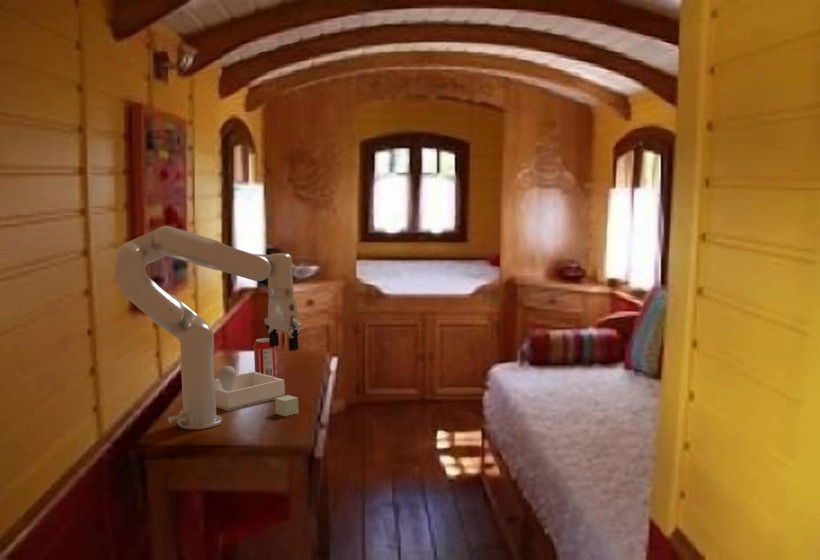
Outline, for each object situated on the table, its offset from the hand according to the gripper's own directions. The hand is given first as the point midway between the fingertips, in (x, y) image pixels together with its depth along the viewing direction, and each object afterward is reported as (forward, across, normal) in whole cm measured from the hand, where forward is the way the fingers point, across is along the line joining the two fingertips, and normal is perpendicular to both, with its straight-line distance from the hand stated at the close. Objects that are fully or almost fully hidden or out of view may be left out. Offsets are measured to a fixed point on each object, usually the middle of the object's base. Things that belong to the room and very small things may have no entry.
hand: (283, 348), depth 244 cm
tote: (+20, +24, 0) cm, 32 cm away
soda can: (+21, +40, -21) cm, 50 cm away
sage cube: (+21, -1, 0) cm, 21 cm away
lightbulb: (+20, +26, +5) cm, 32 cm away
